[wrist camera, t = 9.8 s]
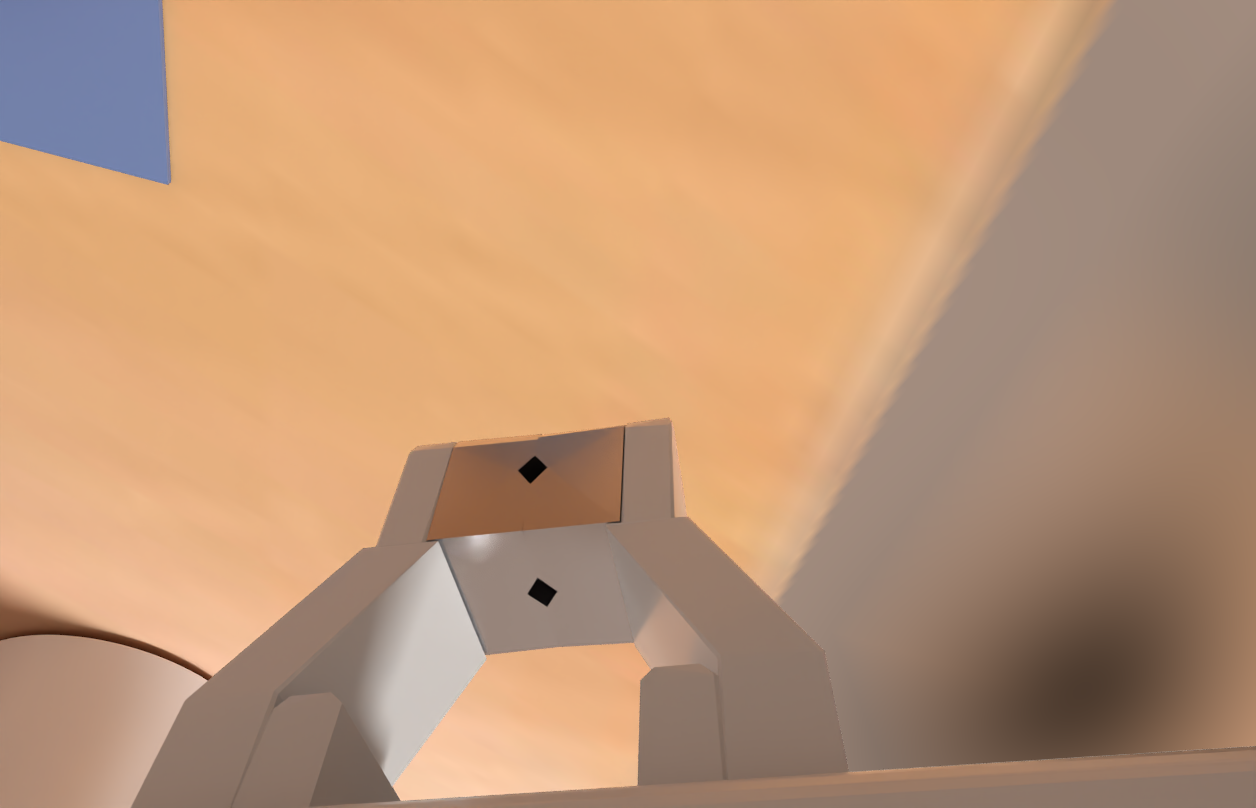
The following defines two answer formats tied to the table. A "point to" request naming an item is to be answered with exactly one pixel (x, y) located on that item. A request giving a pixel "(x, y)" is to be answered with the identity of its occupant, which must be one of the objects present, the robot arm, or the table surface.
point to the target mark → (87, 82)
